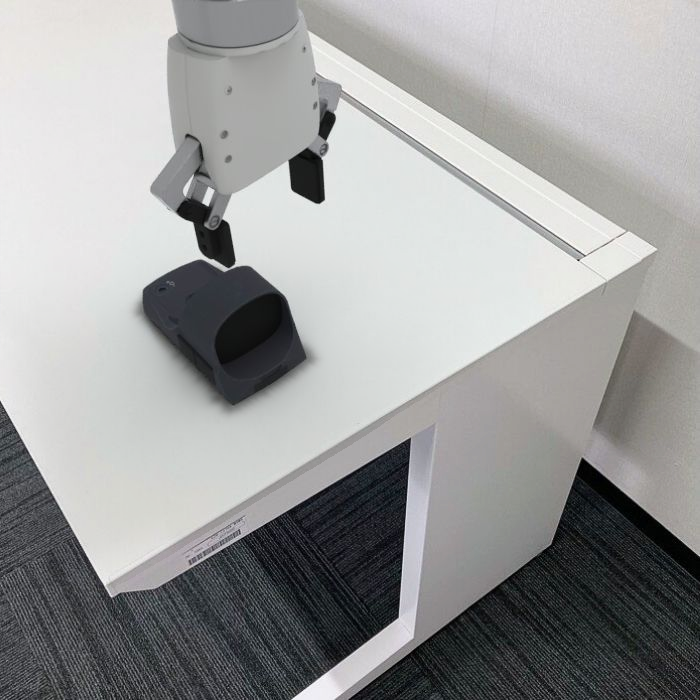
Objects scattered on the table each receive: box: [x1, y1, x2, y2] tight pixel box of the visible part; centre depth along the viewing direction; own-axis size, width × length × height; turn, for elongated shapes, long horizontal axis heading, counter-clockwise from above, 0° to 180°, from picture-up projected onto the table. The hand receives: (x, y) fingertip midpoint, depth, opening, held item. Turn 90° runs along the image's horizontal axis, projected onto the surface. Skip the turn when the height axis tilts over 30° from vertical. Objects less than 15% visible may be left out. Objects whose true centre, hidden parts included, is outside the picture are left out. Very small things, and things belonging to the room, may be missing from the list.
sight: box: [142, 258, 308, 406], centre depth 74 cm, size 9×18×10 cm, turn 41°
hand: (265, 226), depth 59 cm, fingers open, 9 cm apart
